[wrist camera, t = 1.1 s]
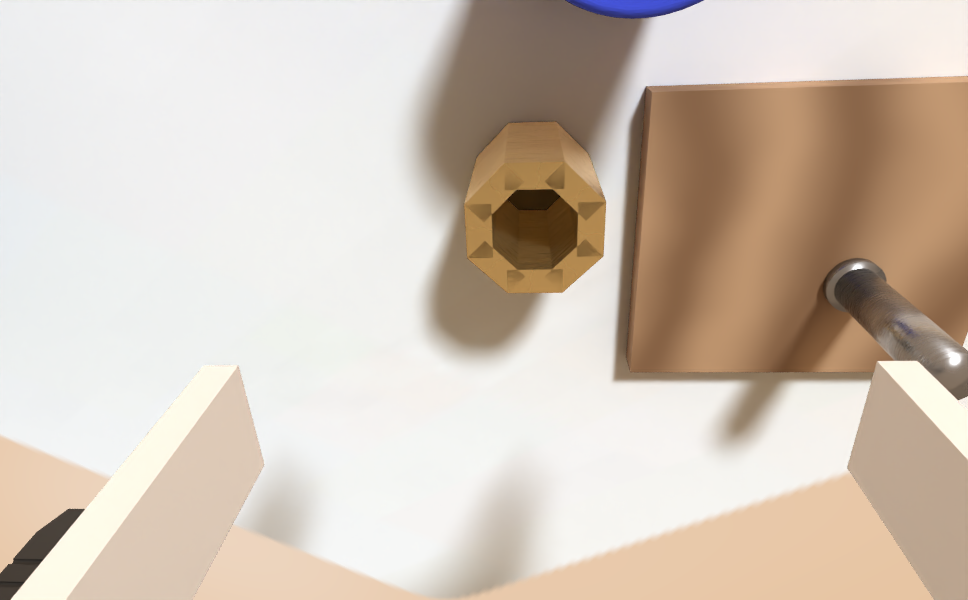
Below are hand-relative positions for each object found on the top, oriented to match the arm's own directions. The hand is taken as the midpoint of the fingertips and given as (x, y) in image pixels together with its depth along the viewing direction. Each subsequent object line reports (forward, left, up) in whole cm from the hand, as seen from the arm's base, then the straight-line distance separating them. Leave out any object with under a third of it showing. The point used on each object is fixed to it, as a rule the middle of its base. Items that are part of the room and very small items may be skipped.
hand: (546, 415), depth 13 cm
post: (+15, -5, -17) cm, 23 cm away
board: (+13, -3, -18) cm, 23 cm away
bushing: (0, 0, -18) cm, 18 cm away
